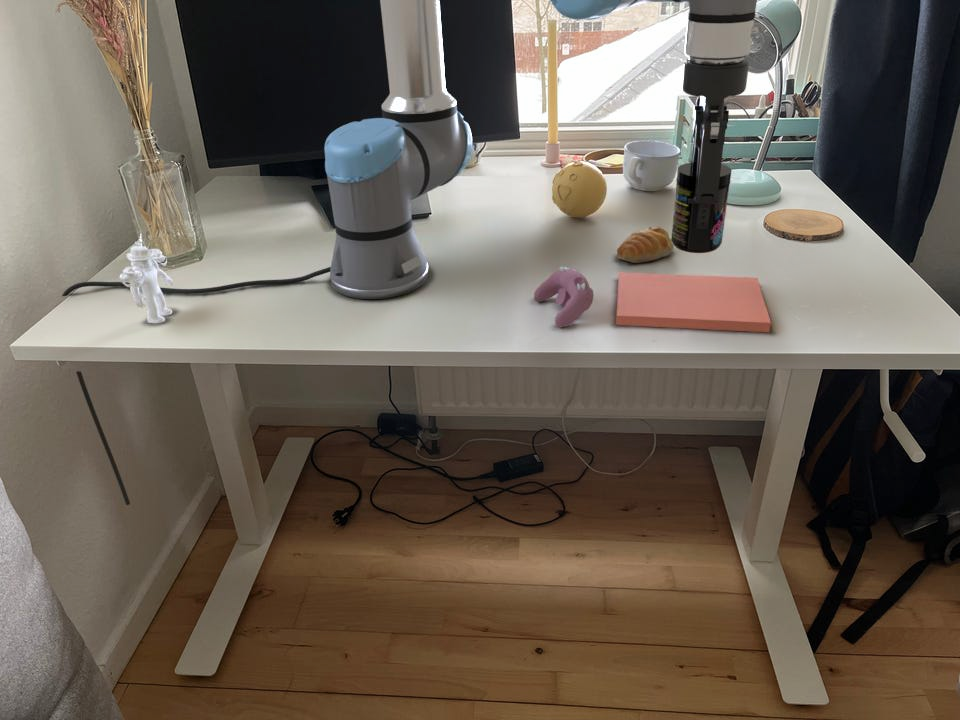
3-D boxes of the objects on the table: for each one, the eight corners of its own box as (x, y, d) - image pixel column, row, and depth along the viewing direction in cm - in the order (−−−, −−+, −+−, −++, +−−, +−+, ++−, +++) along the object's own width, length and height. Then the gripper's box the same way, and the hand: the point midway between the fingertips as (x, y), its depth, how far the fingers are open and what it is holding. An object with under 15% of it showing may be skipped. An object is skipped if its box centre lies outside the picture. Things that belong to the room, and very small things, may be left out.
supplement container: (702, 259, 99) (711, 181, 93) (660, 245, 103) (666, 170, 98) (731, 244, 102) (742, 168, 97) (690, 231, 107) (697, 158, 101)
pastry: (637, 269, 118) (639, 247, 116) (605, 257, 123) (606, 235, 121) (676, 253, 123) (678, 231, 121) (644, 242, 128) (645, 220, 126)
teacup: (643, 174, 158) (646, 136, 154) (687, 185, 151) (691, 145, 147) (600, 191, 150) (602, 151, 146) (645, 203, 143) (648, 162, 139)
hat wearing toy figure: (163, 302, 115) (141, 228, 109) (186, 303, 114) (166, 228, 108) (130, 331, 108) (105, 253, 101) (155, 332, 107) (131, 254, 101)
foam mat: (615, 325, 103) (616, 315, 103) (618, 281, 115) (619, 272, 114) (769, 332, 100) (771, 322, 99) (756, 286, 112) (757, 277, 111)
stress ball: (600, 205, 144) (603, 152, 139) (609, 224, 135) (612, 169, 130) (548, 207, 144) (548, 155, 139) (554, 226, 135) (555, 171, 130)
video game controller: (581, 335, 104) (604, 291, 102) (554, 327, 102) (577, 282, 100) (555, 305, 112) (576, 263, 110) (529, 297, 110) (550, 254, 108)
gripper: (760, 74, 81) (732, 269, 93) (740, 44, 98) (719, 213, 110) (688, 74, 83) (670, 267, 95) (680, 45, 99) (666, 212, 111)
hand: (696, 238), depth 102 cm, fingers closed on supplement container, 7 cm apart
